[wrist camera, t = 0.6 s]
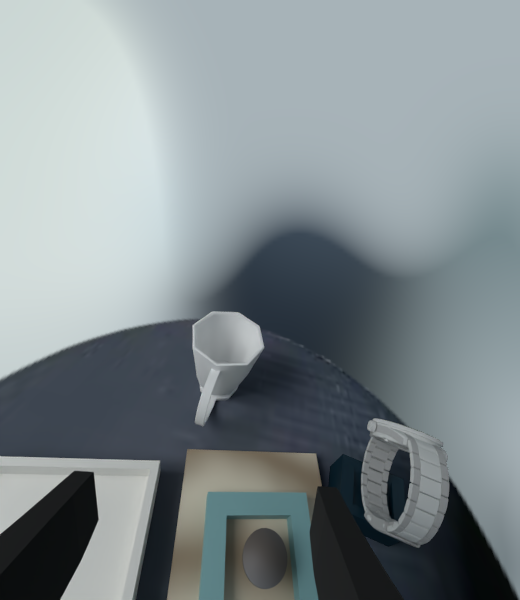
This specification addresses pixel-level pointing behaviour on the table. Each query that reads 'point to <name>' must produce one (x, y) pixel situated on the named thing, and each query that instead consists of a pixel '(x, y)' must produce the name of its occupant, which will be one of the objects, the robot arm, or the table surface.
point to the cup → (223, 356)
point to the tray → (111, 511)
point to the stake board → (240, 522)
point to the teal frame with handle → (256, 508)
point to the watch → (395, 485)
